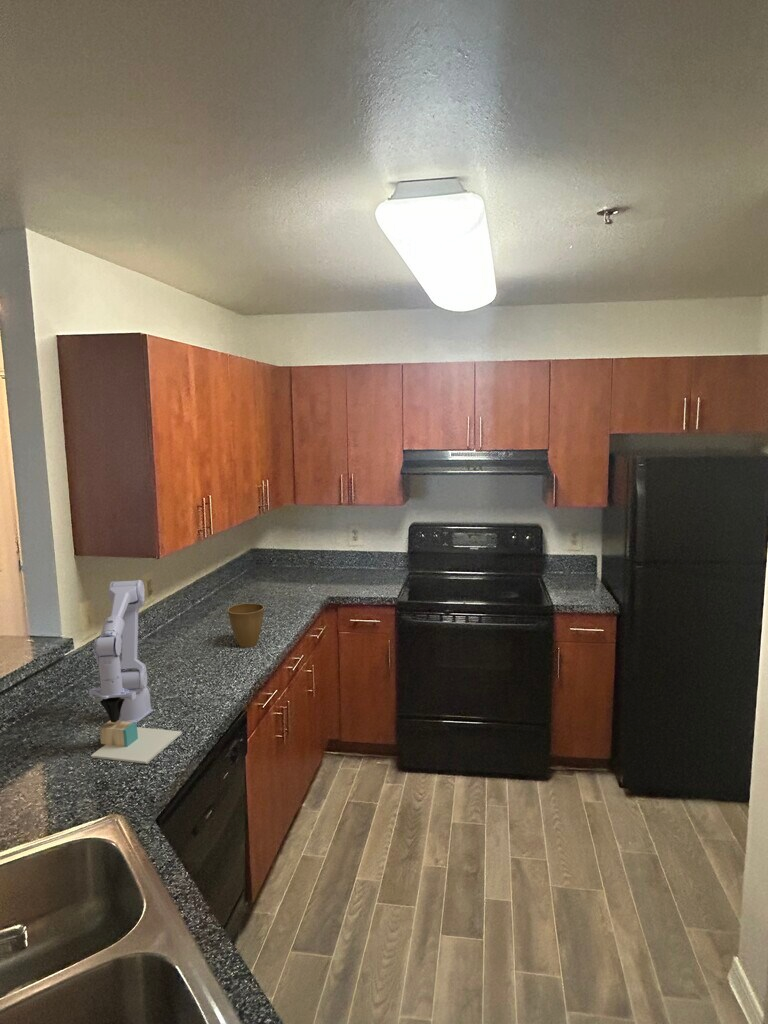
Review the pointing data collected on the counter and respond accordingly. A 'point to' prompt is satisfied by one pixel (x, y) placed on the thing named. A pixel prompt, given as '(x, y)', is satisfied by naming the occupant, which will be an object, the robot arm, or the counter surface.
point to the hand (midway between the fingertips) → (115, 720)
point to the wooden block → (118, 733)
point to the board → (139, 746)
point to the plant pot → (246, 623)
